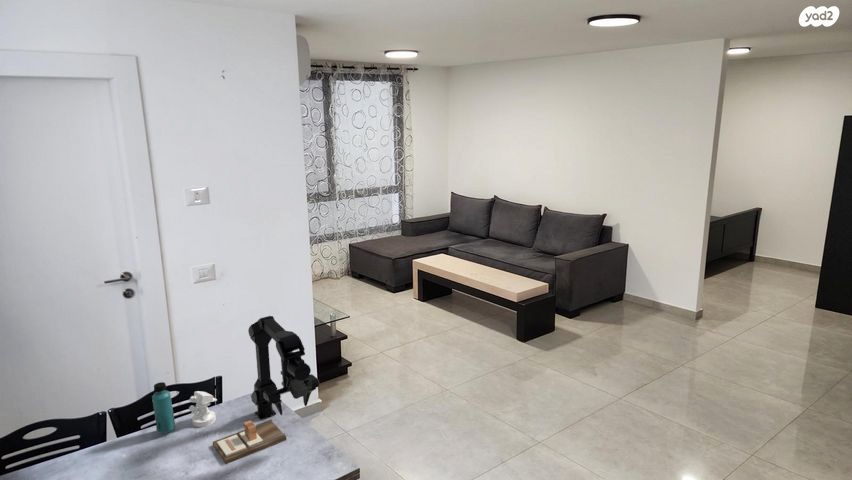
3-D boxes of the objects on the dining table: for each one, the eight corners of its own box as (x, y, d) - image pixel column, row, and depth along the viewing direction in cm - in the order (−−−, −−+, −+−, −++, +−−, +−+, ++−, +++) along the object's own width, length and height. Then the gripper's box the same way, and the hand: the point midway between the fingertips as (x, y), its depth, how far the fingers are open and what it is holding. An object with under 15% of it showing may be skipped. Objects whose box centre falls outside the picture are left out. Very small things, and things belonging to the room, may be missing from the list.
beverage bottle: (179, 427, 205) (173, 379, 200) (169, 437, 198) (162, 388, 194) (163, 426, 206) (156, 379, 201) (153, 436, 199) (146, 388, 195)
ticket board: (213, 445, 193) (212, 439, 193) (271, 423, 207) (270, 418, 206) (225, 464, 183) (225, 458, 182) (286, 440, 196) (285, 434, 195)
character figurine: (187, 422, 208) (184, 394, 206) (209, 411, 216) (206, 384, 213) (200, 429, 203) (197, 401, 201) (222, 418, 211) (219, 390, 208)
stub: (239, 434, 197) (238, 421, 196) (252, 429, 200) (251, 416, 199) (249, 447, 189) (248, 433, 188) (263, 441, 192) (261, 427, 191)
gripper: (274, 386, 173) (277, 429, 177) (325, 369, 184) (328, 410, 188) (260, 374, 182) (264, 415, 185) (310, 358, 193) (313, 398, 196)
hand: (293, 410), depth 188 cm, fingers open, 9 cm apart
